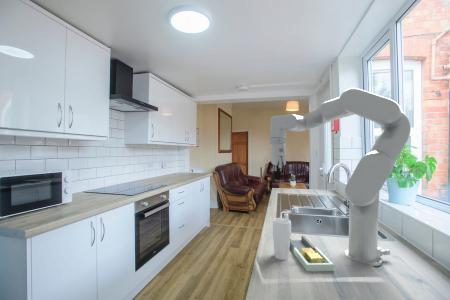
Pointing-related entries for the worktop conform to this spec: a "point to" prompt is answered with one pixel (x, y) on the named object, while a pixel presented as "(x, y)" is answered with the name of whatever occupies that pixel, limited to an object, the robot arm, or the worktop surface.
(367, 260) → the robot arm
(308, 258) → the tan cube
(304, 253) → the gold cube
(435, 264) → the worktop surface
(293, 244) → the slot board
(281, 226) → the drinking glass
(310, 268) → the tray
